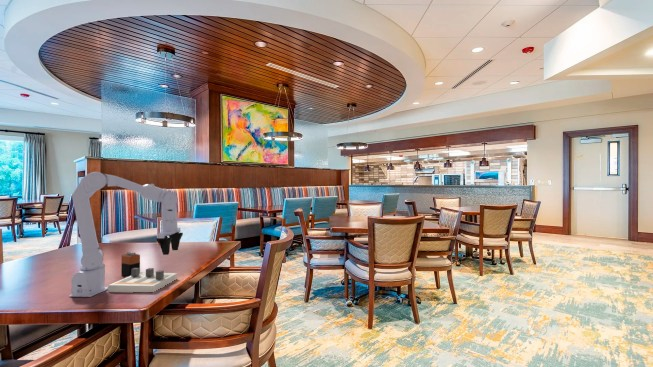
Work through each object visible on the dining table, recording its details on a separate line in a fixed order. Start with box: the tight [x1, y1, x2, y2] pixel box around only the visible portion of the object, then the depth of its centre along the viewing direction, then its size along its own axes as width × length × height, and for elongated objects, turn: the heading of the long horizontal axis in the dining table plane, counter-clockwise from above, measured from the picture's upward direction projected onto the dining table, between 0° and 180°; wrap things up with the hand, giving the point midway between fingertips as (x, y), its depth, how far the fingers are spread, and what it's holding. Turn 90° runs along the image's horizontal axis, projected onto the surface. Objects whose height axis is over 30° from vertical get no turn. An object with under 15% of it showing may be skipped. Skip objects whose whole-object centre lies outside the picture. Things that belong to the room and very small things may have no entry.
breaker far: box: [131, 268, 139, 276], centre depth 121 cm, size 2×2×3 cm
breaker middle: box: [145, 267, 155, 277], centre depth 120 cm, size 2×2×3 cm
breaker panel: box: [107, 272, 178, 293], centre depth 117 cm, size 16×17×3 cm
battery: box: [120, 251, 141, 278], centre depth 130 cm, size 4×7×10 cm, turn 63°
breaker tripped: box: [155, 269, 165, 279], centre depth 117 cm, size 2×2×3 cm
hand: (170, 252), depth 125 cm, fingers open, 7 cm apart
